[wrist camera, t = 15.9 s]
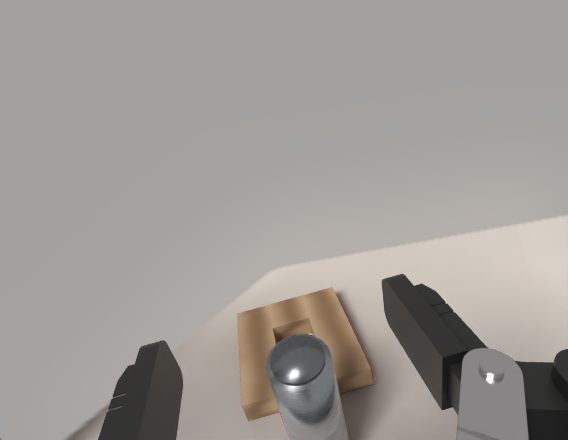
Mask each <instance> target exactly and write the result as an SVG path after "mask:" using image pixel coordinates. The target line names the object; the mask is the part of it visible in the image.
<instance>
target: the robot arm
mask: <svg viewBox="0 0 568 440" xmlns="http://www.w3.org/2000/svg"><path fill="white" fill-rule="evenodd" d="M382 290H383V301H384V311H385V315H386V318H387V321H388V324H389V326H390V328H391V329H392V331H393V332H394V334H395V336H396V337H397V339H398V340H399V342H400V344H401V345H402V347H403V349H404V350H405V352H406V353H407V355H408V357H409V358H410V360H411V361H412V363H413V365H414V366H415V368H416V369H417V371H418V373H419V374H420V376H421V378H422V379H423V381H424V382H425V384H426V386H427V387H428V389H429V390H430V392H431V394H432V395H433V397H434V398H435V400H436V402H437V403H438V405H439V407H440V408H441V410H444V409H448V408H451V407H453V408H454V410H455V411H456V413H457V414H458V428H457V437H456V440H568V349H565V350H562V351H560V352H559V353H558V354H557V355H556V357H555V359H554V363H548V362H518V361H514V360H513V359H511V358H510V357H509V356H507V355H506V354H504V353H502V352H499V351H497V350H493V349H489V348H487V347H486V346H485V345H484V343H483V342H482V341H481V340H480V339H479V338H478V337H477V336H476V335H475V334H474V333H473V331H472V330H471V329H470V328H469V327H468V326H467V325H466V324H465V323H464V322H463V321H462V319H461V318H460V317H459V316H458V315H457V314H456V313H454V312H453V310H452V309H451V307H450V306H449V305H448V304H446V303H445V301H444V300H443V299H442V298H441V296H440V295H439V294H438V293H437V292H436V291H434V290H433V289H431V288H429V287H427V286H425V285H423V284H419V285H415V286H414V285H413V284H412V283H411V282H410V281H409V280H408V278H407V277H406V276H405V275H404V274H400V275H396V276H393V277H389V278H386V279H383V280H382ZM182 389H183V378H182V373H181V370H180V367H179V365H178V364H177V362H176V360H175V358H174V356H173V354H172V352H171V350H170V349H169V347H168V345H167V343H166V342H165V341H159V342H156V343H152V344H148V345H145V346H142V347H141V348H140V349H139V352H138V356H137V359H136V363H135V364H134V365H130V366H128V367H127V368H126V370H125V371H124V373H123V374H122V376H121V377H120V379H119V380H118V382H117V385H116V388H115V391H114V394H113V399H112V400H111V403H110V405H109V408H108V409H109V412H107V414H106V417H105V420H104V423H103V426H102V429H101V432H100V435H99V438H98V440H176V436H177V428H178V420H179V413H180V405H181V397H182ZM0 440H2V439H1V438H0Z"/></svg>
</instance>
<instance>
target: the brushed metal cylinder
mask: <svg viewBox="0 0 568 440" xmlns="http://www.w3.org/2000/svg"><path fill="white" fill-rule="evenodd" d="M265 370H266V374H267V377H268V380H269V383H270V385H271V388H272V391H273V394H274V397H275V399H276V402H277V405H278V408H279V411H280V413H281V416H282V419H283V422H284V425H285V427H286V430H287V433H288V436H289V439H290V440H348V432H347V427H346V423H345V418H344V413H343V409H342V404H341V399H340V394H339V390H338V385H337V380H336V375H335V371H334V366H333V361H332V357H331V353H330V350H329V348H328V346H327V345H326V344H325V342H323V341H322V340H321V339H319V338H317V337H315V336H312V335H308V334H298V335H293V336H289V337H287V338H285V339H283V340H281V341H280V342H278V343H277V344H276V345H275V346H274V347H273V348H272V349H271V351H270V352H269V354H268V356H267V359H266V364H265Z"/></svg>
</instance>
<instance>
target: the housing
mask: <svg viewBox="0 0 568 440" xmlns="http://www.w3.org/2000/svg"><path fill="white" fill-rule="evenodd" d="M237 316H238V336H239V357H240V377H241V397H242V407H243V410H244V412H245V414H246V416H247V419H248V421H250V420H254V419H257V418H260V417H264V416H267V415H270V414H274V413H277V412H280V411H279V408H278V405H277V402H276V399H275V397H274V394H273V391H272V388H271V385H270V383H269V380H268V377H267V374H266V370H265V364H266V359H267V356H268V354H269V352H270V351H271V349H272V348H273V347H274V346H275V345H276V344H277V342H280V341H281V340H283V339H285V338H287V337H289V336H293V335H298V334H308V333H311V332H313V335H314V336H315V337H317V338H319V339H321V340H322V341H323V342H325V344H326V345H327V346H328V348H329V350H330V353H331V357H332V361H333V366H334V371H335V375H336V380H337V385H338V390H339V394H341V393H345V392H348V391H351V390H355V389H358V388H361V387H365V386H368V385H372V384H373V380H372V372H371V367H370V365H369V363H368V361H367V359H366V357H365V355H364V352H363V350H362V348H361V346H360V344H359V342H358V340H357V338H356V336H355V333H354V331H353V329H352V327H351V325H350V323H349V321H348V319H347V317H346V315H345V312H344V310H343V308H342V306H341V304H340V302H339V300H338V298H337V296H336V294H335V291H334V289H333V287H331V288H328V289H324V290H321V291H317V292H313V293H310V294H306V295H303V296H299V297H296V298H292V299H288V300H285V301H281V302H278V303H274V304H271V305H267V306H263V307H260V308H256V309H253V310H249V311H246V312H242V313H238V314H237Z"/></svg>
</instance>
